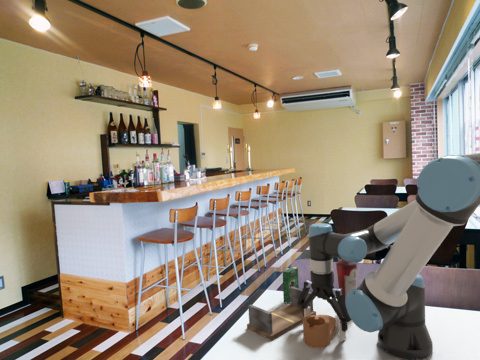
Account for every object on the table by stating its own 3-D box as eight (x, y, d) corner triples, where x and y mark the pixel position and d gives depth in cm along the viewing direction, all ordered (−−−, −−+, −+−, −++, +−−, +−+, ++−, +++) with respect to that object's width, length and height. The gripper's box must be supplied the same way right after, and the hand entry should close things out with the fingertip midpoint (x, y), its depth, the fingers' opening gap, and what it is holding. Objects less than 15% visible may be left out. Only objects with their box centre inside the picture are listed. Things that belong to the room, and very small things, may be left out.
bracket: (327, 350, 107) (326, 328, 106) (300, 345, 111) (299, 324, 110) (338, 324, 123) (337, 305, 123) (314, 320, 127) (314, 302, 126)
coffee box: (294, 295, 149) (292, 265, 149) (299, 297, 147) (298, 266, 147) (283, 302, 143) (281, 271, 143) (289, 304, 141) (287, 272, 141)
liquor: (347, 307, 135) (344, 236, 133) (363, 314, 129) (360, 239, 127) (334, 312, 131) (330, 239, 130) (349, 320, 125) (346, 243, 123)
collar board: (316, 315, 130) (315, 293, 130) (271, 340, 114) (270, 315, 114) (291, 306, 139) (290, 285, 139) (247, 328, 123) (245, 305, 123)
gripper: (362, 275, 108) (365, 341, 110) (299, 260, 127) (301, 317, 129) (349, 282, 104) (352, 351, 105) (285, 266, 122) (288, 324, 124)
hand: (324, 332), depth 117 cm, fingers open, 13 cm apart
